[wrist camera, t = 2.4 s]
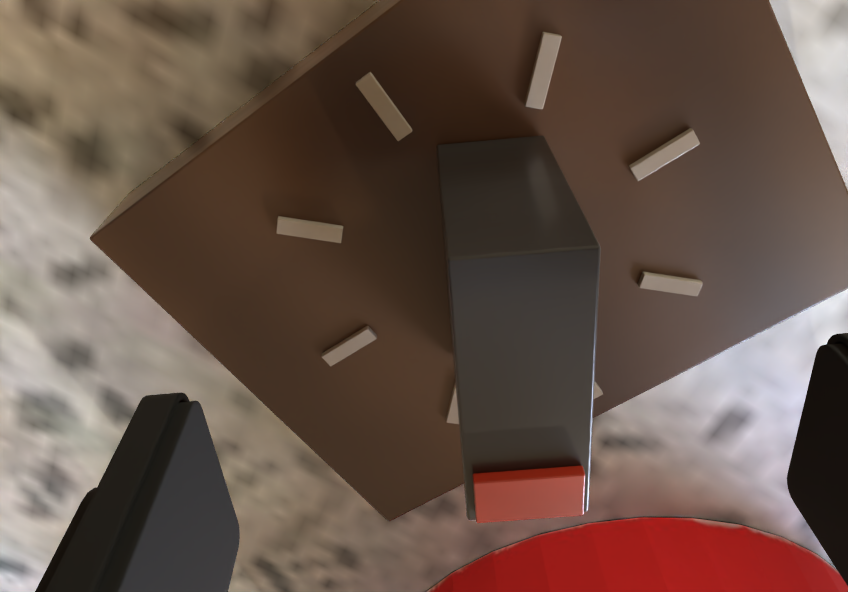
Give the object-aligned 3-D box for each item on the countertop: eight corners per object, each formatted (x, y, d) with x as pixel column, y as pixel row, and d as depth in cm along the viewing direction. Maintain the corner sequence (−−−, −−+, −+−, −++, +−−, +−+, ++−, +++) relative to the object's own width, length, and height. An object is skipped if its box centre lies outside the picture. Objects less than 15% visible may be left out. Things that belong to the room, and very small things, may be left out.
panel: (638, -200, 14) (684, -216, 11) (826, 225, 18) (886, 275, 16) (127, 194, 17) (85, 241, 15) (390, 459, 22) (388, 527, 20)
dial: (435, 144, 14) (446, 267, 10) (544, 134, 14) (605, 253, 10) (453, 359, 17) (468, 532, 13) (544, 351, 17) (592, 523, 12)
